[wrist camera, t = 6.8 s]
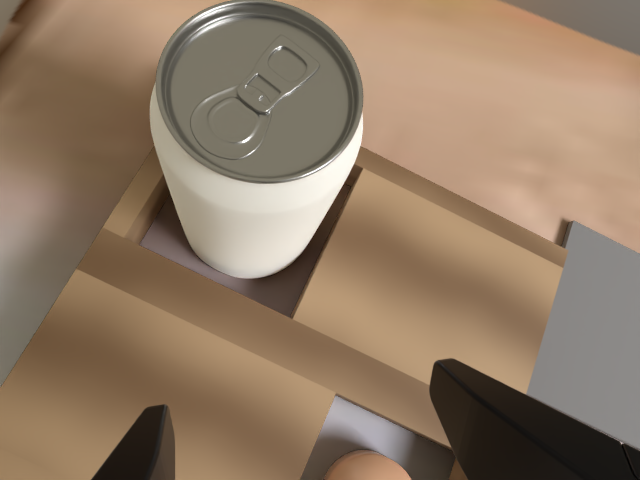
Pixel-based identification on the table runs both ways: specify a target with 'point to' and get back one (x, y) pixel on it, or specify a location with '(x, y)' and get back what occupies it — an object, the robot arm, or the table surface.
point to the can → (255, 131)
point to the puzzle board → (276, 334)
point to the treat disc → (365, 467)
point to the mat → (594, 337)
